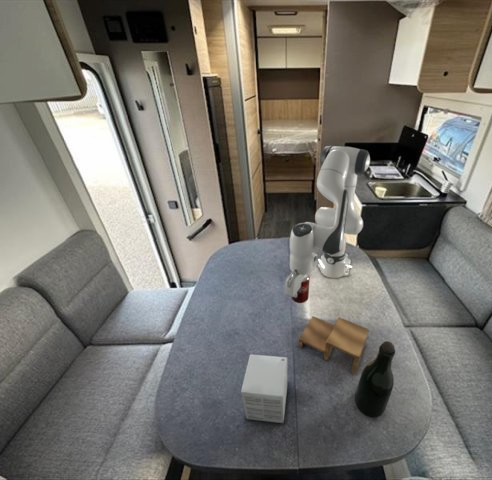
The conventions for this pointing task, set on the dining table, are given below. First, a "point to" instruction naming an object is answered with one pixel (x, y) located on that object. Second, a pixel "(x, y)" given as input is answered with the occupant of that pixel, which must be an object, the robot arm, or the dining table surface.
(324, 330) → the step shelf
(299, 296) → the soda can
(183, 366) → the dining table surface
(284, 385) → the supplement box
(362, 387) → the dark green wine bottle
